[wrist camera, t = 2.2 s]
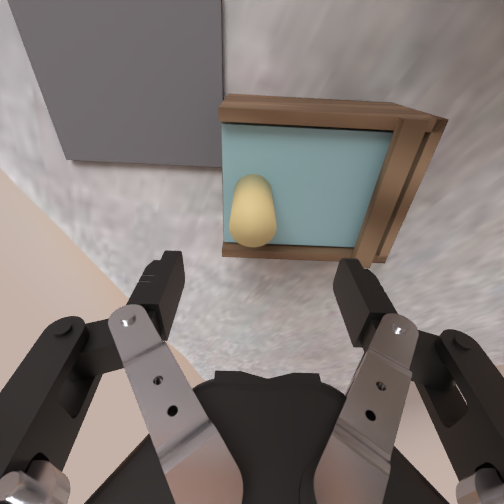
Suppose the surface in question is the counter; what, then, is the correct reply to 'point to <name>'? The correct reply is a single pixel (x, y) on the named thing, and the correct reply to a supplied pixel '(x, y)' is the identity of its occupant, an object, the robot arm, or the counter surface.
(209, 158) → the mat
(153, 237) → the counter surface
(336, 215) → the thin pale-blue panel
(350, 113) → the box
